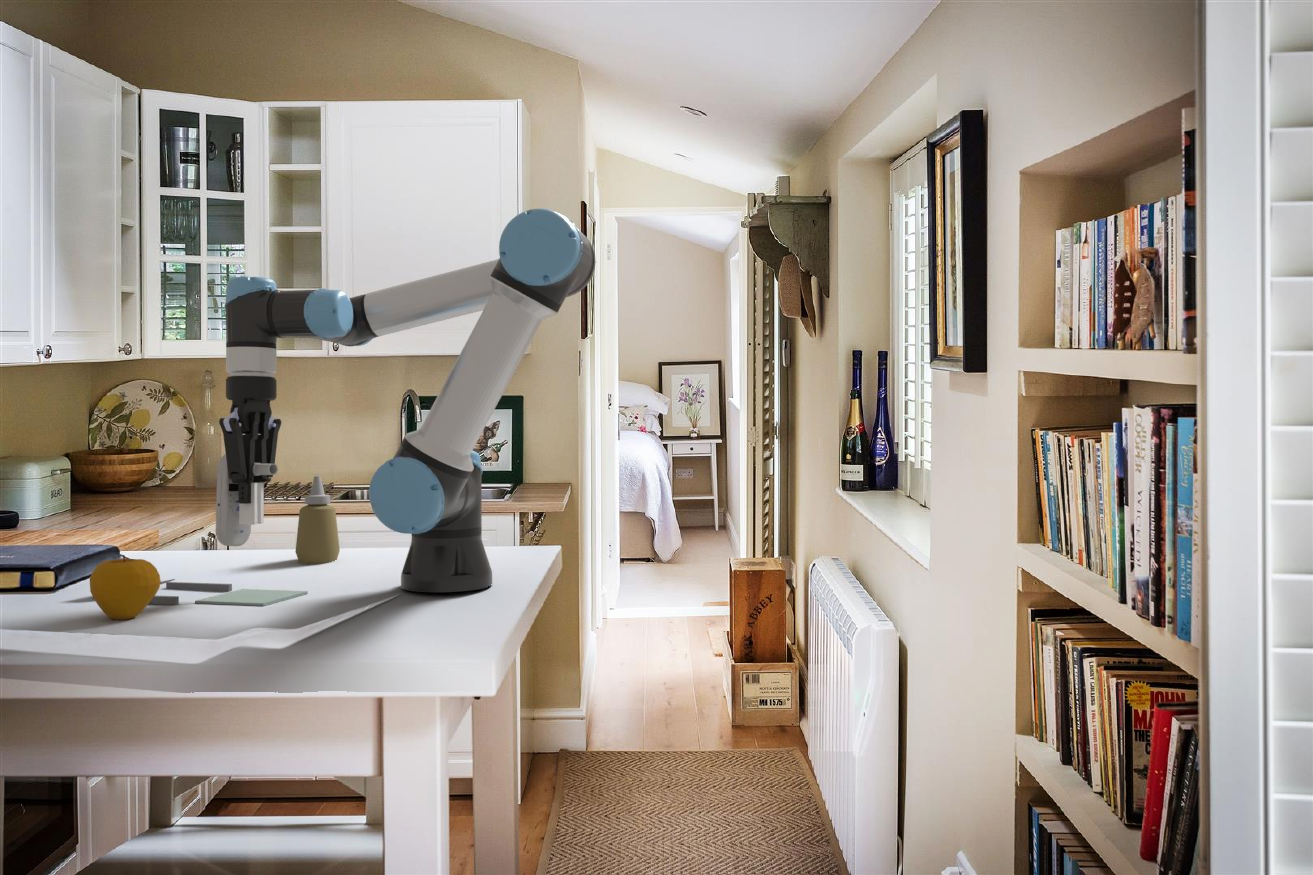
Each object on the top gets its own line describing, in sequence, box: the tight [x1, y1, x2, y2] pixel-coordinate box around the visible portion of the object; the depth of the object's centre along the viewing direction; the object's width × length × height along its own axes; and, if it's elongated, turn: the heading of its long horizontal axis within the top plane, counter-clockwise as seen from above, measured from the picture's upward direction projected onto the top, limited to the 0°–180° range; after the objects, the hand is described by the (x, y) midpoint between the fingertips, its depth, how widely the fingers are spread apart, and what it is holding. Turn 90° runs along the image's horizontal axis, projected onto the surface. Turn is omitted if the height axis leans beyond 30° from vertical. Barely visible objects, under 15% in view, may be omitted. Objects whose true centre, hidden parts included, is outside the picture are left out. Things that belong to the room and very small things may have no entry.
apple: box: [89, 555, 162, 621], centre depth 145 cm, size 9×9×9 cm
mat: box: [194, 588, 309, 607], centre depth 161 cm, size 12×12×1 cm
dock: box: [92, 578, 233, 606], centre depth 167 cm, size 17×19×4 cm
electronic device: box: [215, 453, 279, 547], centre depth 161 cm, size 5×10×15 cm, turn 64°
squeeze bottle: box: [294, 475, 341, 565], centre depth 194 cm, size 8×8×18 cm
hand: (251, 523), depth 161 cm, fingers closed on electronic device
